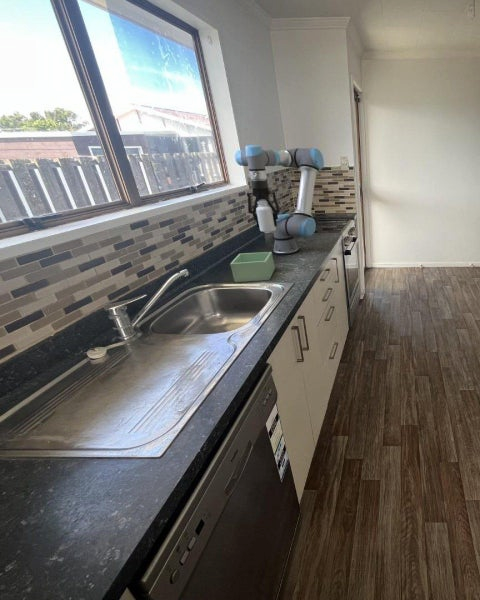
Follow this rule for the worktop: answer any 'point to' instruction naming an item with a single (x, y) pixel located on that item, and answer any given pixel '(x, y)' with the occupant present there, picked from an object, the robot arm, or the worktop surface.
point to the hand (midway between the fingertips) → (267, 226)
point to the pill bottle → (265, 216)
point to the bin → (252, 267)
